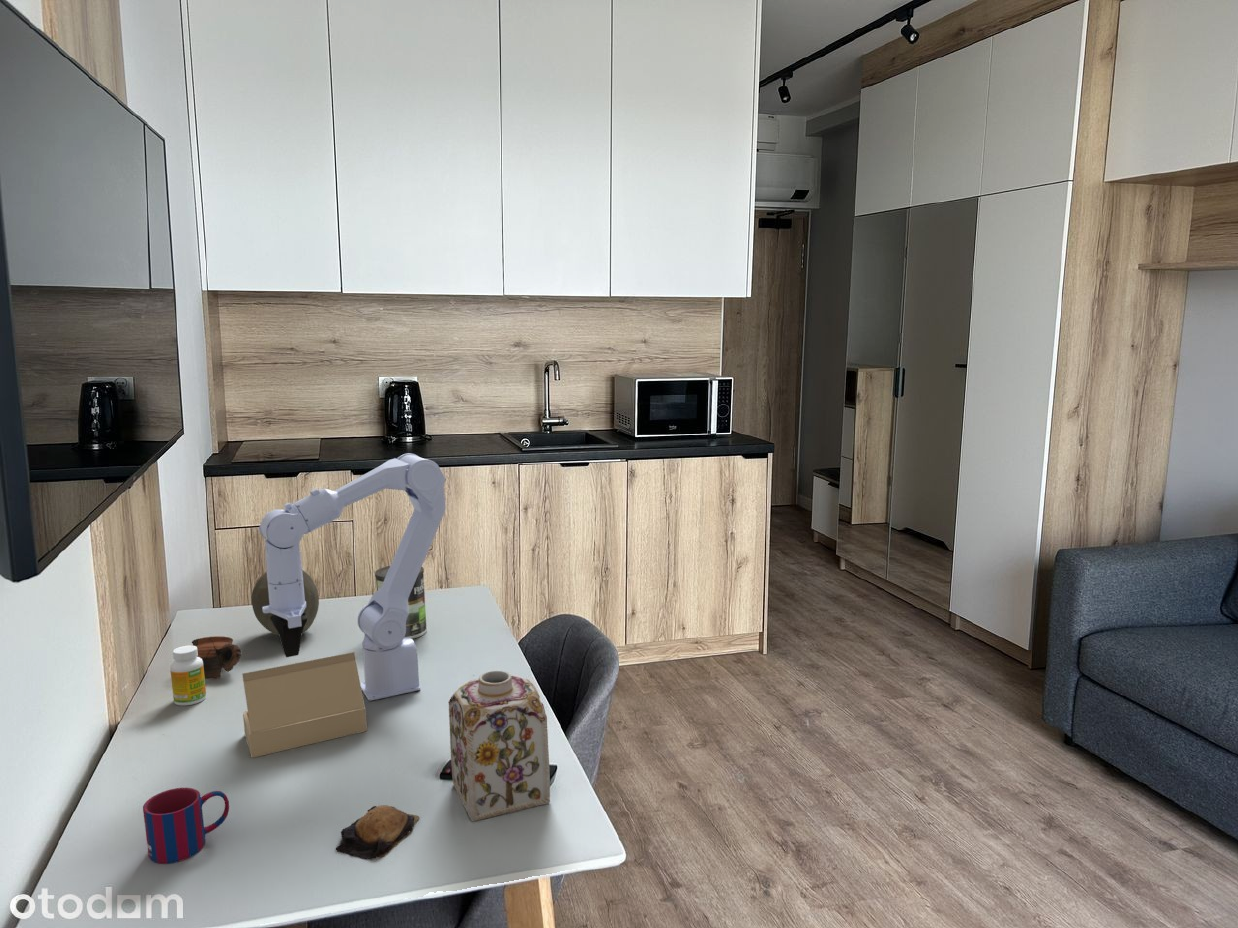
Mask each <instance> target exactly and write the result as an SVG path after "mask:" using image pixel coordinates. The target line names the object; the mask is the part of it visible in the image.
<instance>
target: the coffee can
mask: <svg viewBox="0 0 1238 928" xmlns="http://www.w3.org/2000/svg"><path fill="white" fill-rule="evenodd" d="M389 568H390V565H387V566H383V567H381V568H379V569H376V570H375V571H374V578H375V586H376V587H375V588H376V591H378V590H379V589H380V588H381V586H382V584H383V582H384V579H385V577H386V575H387V572H388V570H389ZM424 570H425V569H424V567H423V566H422V567H421V569H420V572H419V574H418V576H417V579H416V581H415V583H414V586H413V588H412V591H411V593H410V595H409V598H408V607H409V615H408V617H407V620H406V634H405V637H404V639H407V638H411V639H413V640H414V639H418V638H420V637H421V636H424V635H425V634H426V633H427V632H428V628H427V615H426V614H427V613H426V598H425V597H426V595H425V593H426V592H425V581H424V580H425V579H424V575H425V574H424V572H425V571H424Z"/></svg>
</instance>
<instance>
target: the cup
mask: <svg viewBox="0 0 1238 928" xmlns="http://www.w3.org/2000/svg"><path fill="white" fill-rule="evenodd" d="M217 796H218V797H221V798H222V799H223V801H224V809H223V812H222V814H221V816H219V818H218V819H217V820H215V822H213V823H212V824H210V825H208V826H205V824H204V815H203V805H204V804H205V803H206V802H207V801H208V800H209V799H211V798H213V797H217ZM142 806H143V807H142V813H143V821H144V829H145V830H144V831H145V839H146V846H147V854H148V855H147V856H148V858H149V860H151V862H154V863H156V864H163V865H167V864H173V863H178V862H182V861H184V860H187V859H189V858H191V857H193V856H194V855H196V854H198V853H199V852H200V851H201V850H202V849H203V848H204V847H205V844H206V835H207V834H209V833H211V832H212V831H214V830H216V829H217V828H218V827H220V826H221V825H222V824H223V823H224V821H225V820H226V819H227V817H228V815H229V811H230V803H229V798H228V796H227V795H226V794H225V793H224V792H223V791H221V790H214V791H211V792H208V793H206V794H204V795H202V796H201V793H200V791H199V790H197V789H195V788H192V787H176V788H171V789H167V790H164V791H161V792H159V793H157V794H155V795H153V796H151V797H150V798H148V799H147V800H146V802H144V804H143V805H142Z"/></svg>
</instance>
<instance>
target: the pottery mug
mask: <svg viewBox="0 0 1238 928" xmlns="http://www.w3.org/2000/svg"><path fill="white" fill-rule="evenodd" d="M233 641H234V639H233V638H231V637H229V636H222V635H221V636H206V637H201V638H196V639H193V640H192V641H191V644H192V646H196V647H197V651H198V656H197V657H200V658H201V659H202V660H203V666H204V676H205V680H211V679H215V680H217V679H221V677H222V671H223V670H224V671H225V672H227V673H229V672H231V671H232V670H233V669H234V667H235V666H236V665H237V664H238V663H239V662H240V659H241V658H242V649H241V647H240V646H239V644H234V643H233ZM222 669H223V670H222Z"/></svg>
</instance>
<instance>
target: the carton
mask: <svg viewBox="0 0 1238 928" xmlns="http://www.w3.org/2000/svg"><path fill="white" fill-rule="evenodd" d="M242 718H243V728H244V737H245V740H246V743H247V746H248V750H249V753H250V756H251V759H253V758H257V757H261V756H265V755H270V754H275V753H278V752H282V751H287V750H291V749H295V748H299V747H303V746H309V745H312V744H316V743H320V742H325V741H329V740H334V739H339V738H343V737H347V736H350V735H355V734H358V733H364V732H367V731H368V725H367V709H366V707H365V708H362V709H357V710H353V711H348V712H344V713H339V714H335V715H330V716H326V717H322V718H317V719H313V720H308V721H304V722H299V723H295V724H290V725H286V726H281V727H277V728H272V729H268V730H263V731H259V732H254V733H251V730H250V724H249V717H248V710H247V711H243V712H242Z"/></svg>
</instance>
